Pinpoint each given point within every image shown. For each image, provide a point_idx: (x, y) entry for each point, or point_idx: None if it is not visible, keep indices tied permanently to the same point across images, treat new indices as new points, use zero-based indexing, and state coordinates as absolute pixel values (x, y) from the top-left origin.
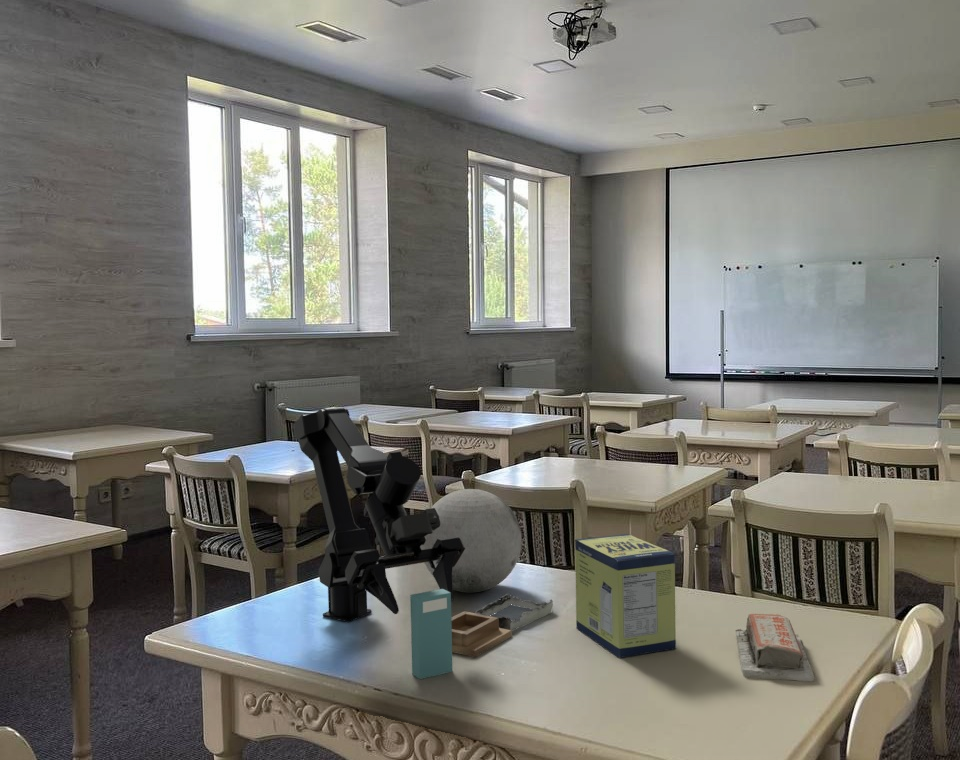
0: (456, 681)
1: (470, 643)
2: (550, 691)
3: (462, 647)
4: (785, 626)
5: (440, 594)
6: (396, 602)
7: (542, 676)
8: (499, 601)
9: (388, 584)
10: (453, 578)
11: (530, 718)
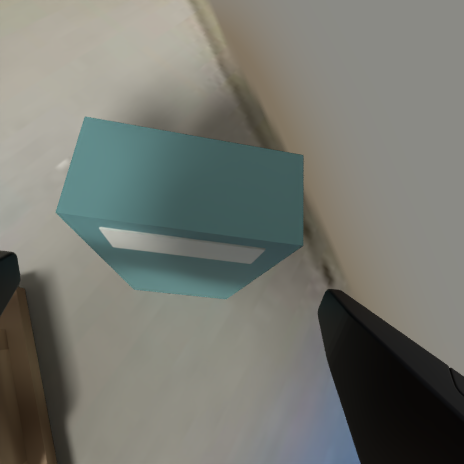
0: None
1: None
2: (68, 50)
3: (19, 334)
4: None
5: (157, 131)
6: (348, 307)
7: (13, 99)
8: None
9: (449, 399)
10: None
11: (178, 19)
